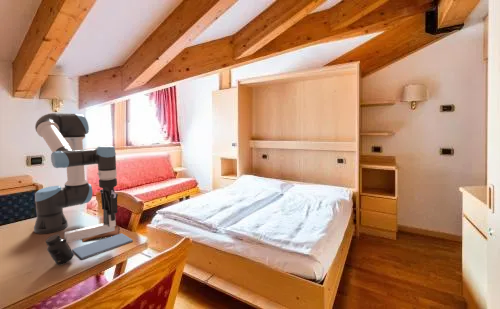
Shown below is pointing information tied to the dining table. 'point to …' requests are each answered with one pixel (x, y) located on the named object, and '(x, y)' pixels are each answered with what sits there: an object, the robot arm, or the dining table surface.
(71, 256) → the supplement bottle
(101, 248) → the mat
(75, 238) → the grey mallet
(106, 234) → the sunglasses case
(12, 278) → the dining table surface
